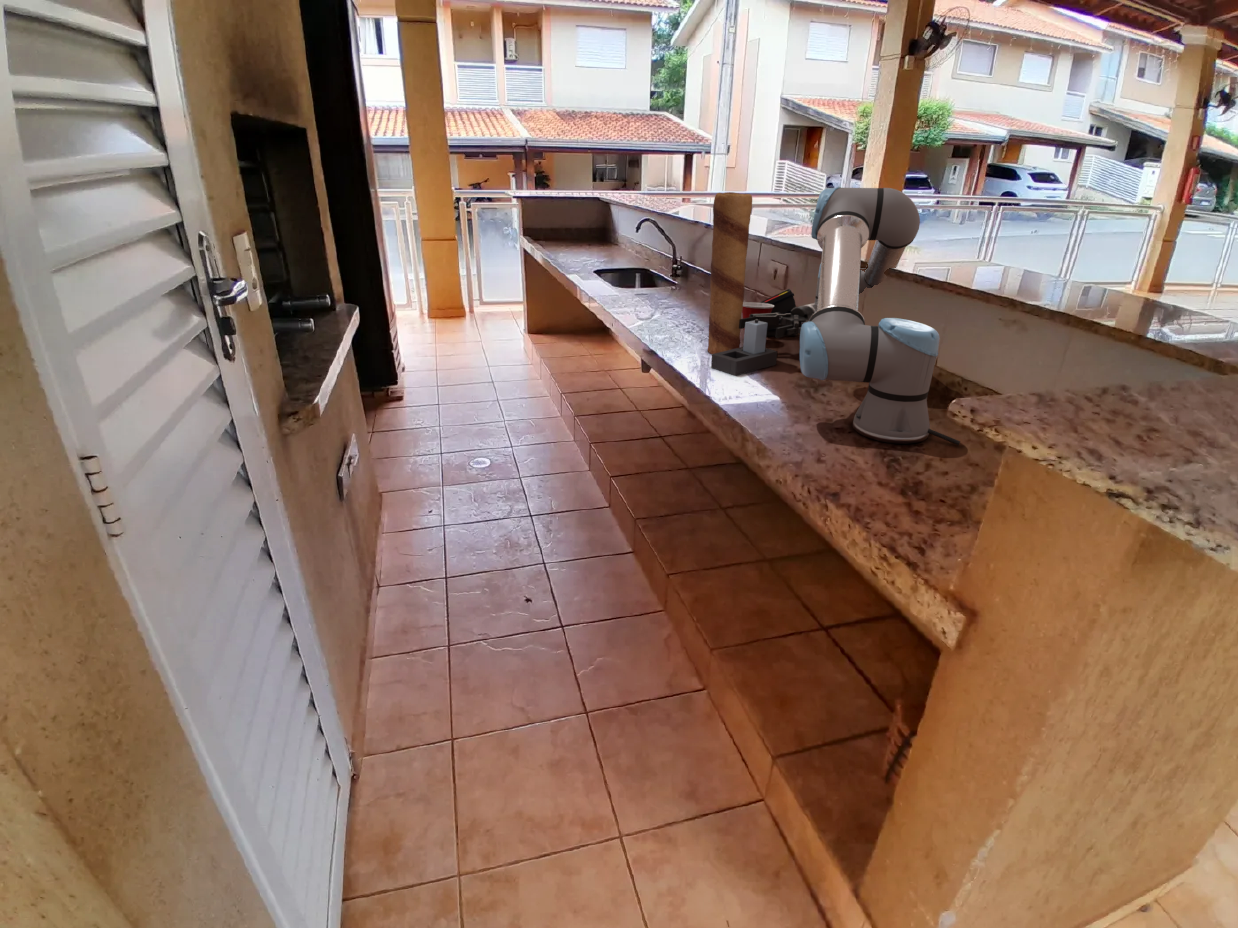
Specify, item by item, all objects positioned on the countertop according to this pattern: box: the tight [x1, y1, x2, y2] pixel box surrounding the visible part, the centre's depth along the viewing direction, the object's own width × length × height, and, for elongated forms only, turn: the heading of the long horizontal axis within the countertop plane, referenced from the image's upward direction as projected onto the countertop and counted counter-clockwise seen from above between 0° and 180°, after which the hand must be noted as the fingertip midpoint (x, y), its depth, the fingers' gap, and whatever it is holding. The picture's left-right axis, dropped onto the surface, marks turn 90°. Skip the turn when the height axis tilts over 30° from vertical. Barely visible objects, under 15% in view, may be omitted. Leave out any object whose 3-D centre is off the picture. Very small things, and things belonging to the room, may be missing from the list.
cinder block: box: [710, 346, 778, 376], centre depth 175 cm, size 9×17×4 cm, turn 126°
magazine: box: [758, 288, 797, 337], centre depth 205 cm, size 4×13×15 cm, turn 88°
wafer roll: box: [707, 191, 753, 355], centre depth 180 cm, size 10×11×45 cm
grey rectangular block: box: [742, 319, 768, 354], centre depth 175 cm, size 4×4×13 cm
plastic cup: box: [741, 301, 774, 334], centre depth 199 cm, size 11×11×12 cm
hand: (757, 328), depth 174 cm, fingers open, 13 cm apart
